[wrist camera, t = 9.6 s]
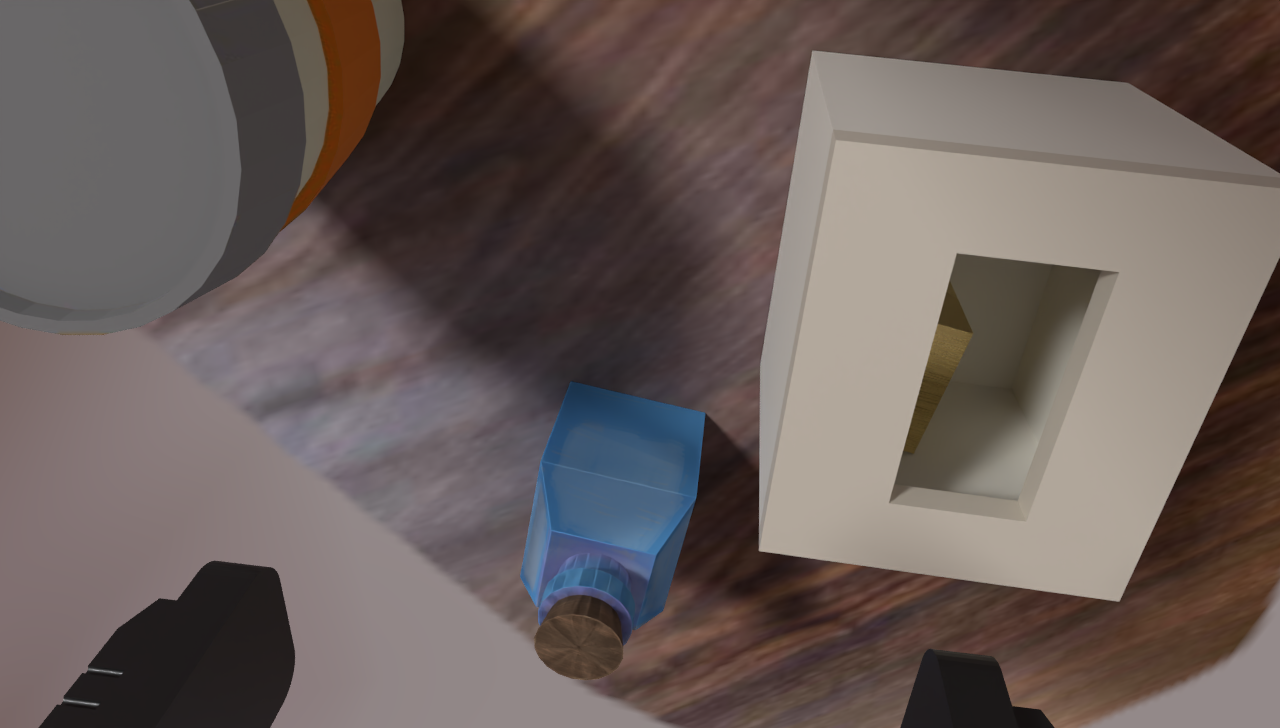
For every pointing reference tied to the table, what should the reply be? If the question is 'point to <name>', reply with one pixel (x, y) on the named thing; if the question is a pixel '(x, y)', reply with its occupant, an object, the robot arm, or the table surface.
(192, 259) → the reusable coffee cup
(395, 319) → the table surface
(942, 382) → the tan wooden block
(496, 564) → the table surface
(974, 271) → the tissue box
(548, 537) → the perfume bottle
